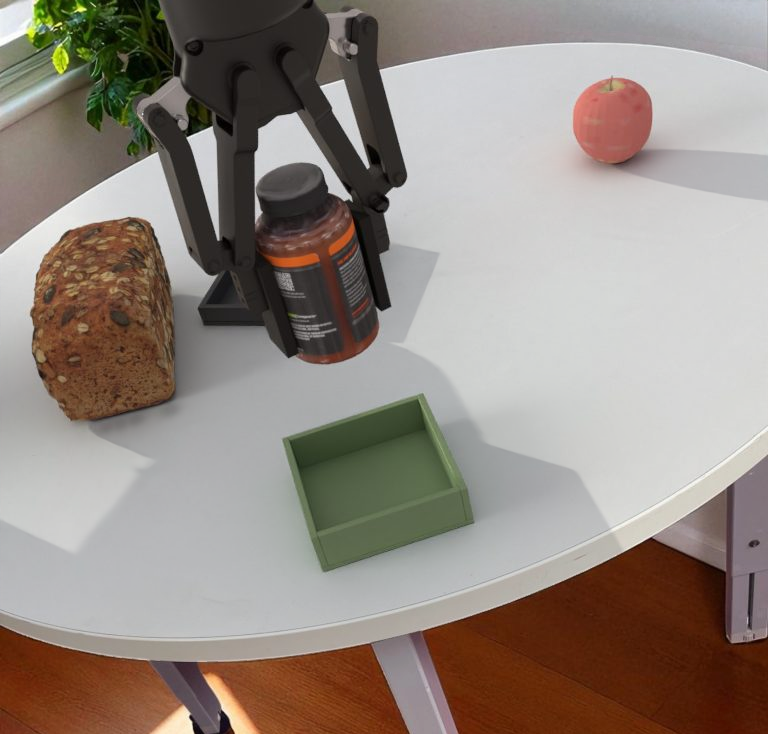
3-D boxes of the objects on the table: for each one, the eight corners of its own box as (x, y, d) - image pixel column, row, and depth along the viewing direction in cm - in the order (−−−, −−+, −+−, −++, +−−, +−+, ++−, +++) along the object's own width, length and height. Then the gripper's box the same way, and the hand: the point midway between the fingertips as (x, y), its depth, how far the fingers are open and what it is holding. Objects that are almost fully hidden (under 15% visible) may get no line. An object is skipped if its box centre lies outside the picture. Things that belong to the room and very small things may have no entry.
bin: (322, 572, 74) (310, 539, 71) (293, 471, 81) (281, 438, 79) (474, 522, 74) (467, 488, 72) (430, 426, 82) (422, 392, 79)
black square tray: (203, 325, 98) (197, 308, 96) (252, 243, 106) (247, 226, 105) (338, 325, 93) (333, 308, 92) (378, 240, 102) (374, 222, 100)
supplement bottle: (381, 305, 70) (343, 143, 62) (381, 361, 66) (340, 196, 58) (292, 319, 71) (243, 162, 63) (287, 376, 66) (233, 215, 58)
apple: (581, 140, 107) (576, 61, 101) (657, 136, 105) (655, 55, 99) (570, 179, 102) (563, 99, 97) (649, 176, 100) (647, 94, 94)
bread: (183, 402, 90) (141, 305, 83) (62, 433, 90) (9, 339, 83) (180, 283, 103) (143, 191, 96) (74, 311, 104) (29, 221, 97)
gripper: (56, 23, 46) (219, 421, 63) (426, -127, 50) (489, 283, 67) (12, -16, 51) (174, 362, 68) (352, -149, 56) (427, 237, 72)
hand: (330, 322), depth 67 cm, fingers closed on supplement bottle, 6 cm apart
